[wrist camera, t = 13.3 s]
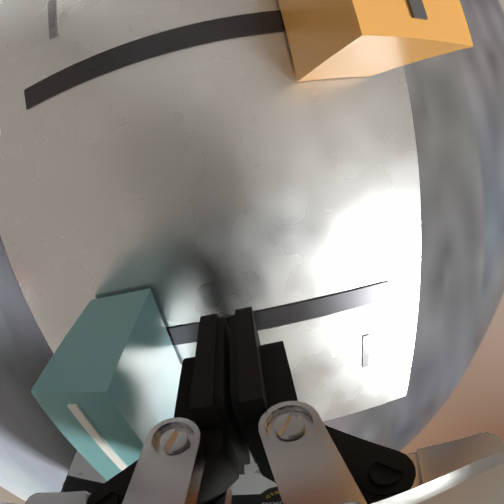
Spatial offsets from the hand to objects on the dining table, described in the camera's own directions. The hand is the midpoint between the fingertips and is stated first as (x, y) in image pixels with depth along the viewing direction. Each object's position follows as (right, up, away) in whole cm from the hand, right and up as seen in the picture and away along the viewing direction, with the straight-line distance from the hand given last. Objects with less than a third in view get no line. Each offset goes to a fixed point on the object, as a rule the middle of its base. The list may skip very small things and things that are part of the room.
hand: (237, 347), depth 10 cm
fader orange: (+3, +10, -2) cm, 11 cm away
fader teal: (-4, 0, +1) cm, 4 cm away
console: (-2, +5, +1) cm, 6 cm away
